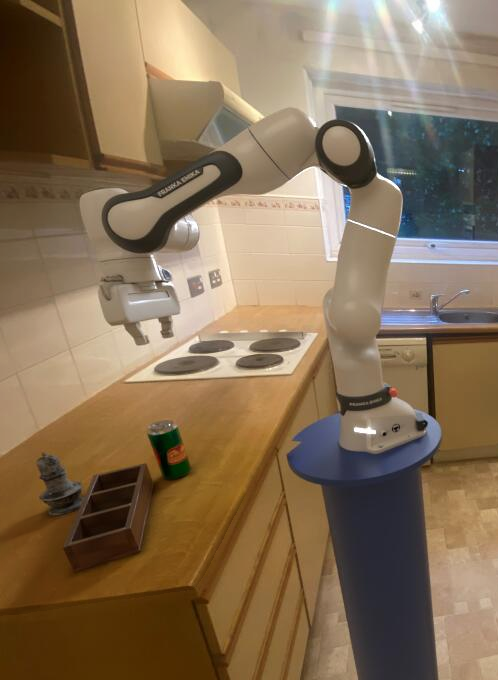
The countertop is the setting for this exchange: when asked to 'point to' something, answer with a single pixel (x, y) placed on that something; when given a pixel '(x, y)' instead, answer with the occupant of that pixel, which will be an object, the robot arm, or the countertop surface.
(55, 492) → the grey stacked stone piece
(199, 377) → the countertop surface
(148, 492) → the wooden compartment tray
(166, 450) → the soda can
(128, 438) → the countertop surface
